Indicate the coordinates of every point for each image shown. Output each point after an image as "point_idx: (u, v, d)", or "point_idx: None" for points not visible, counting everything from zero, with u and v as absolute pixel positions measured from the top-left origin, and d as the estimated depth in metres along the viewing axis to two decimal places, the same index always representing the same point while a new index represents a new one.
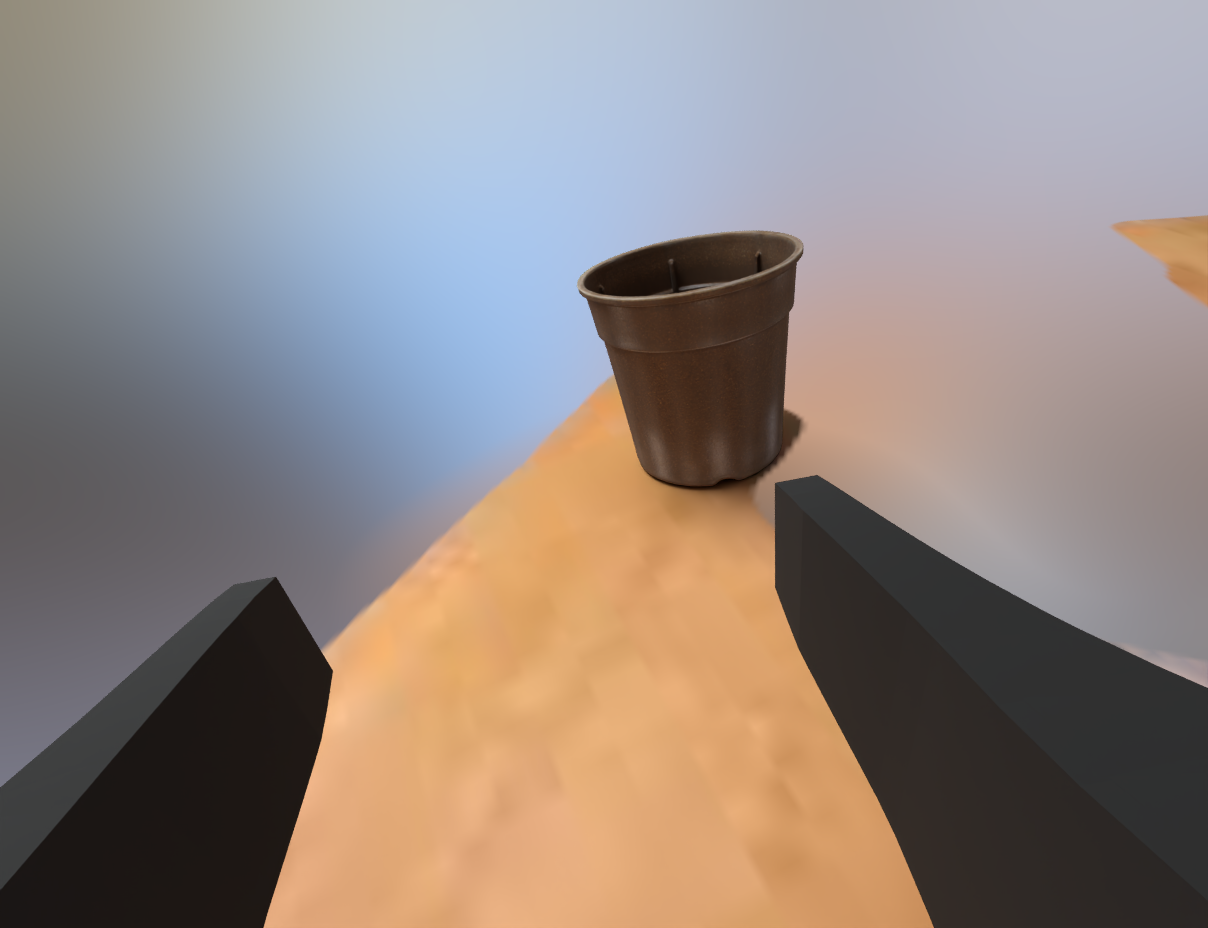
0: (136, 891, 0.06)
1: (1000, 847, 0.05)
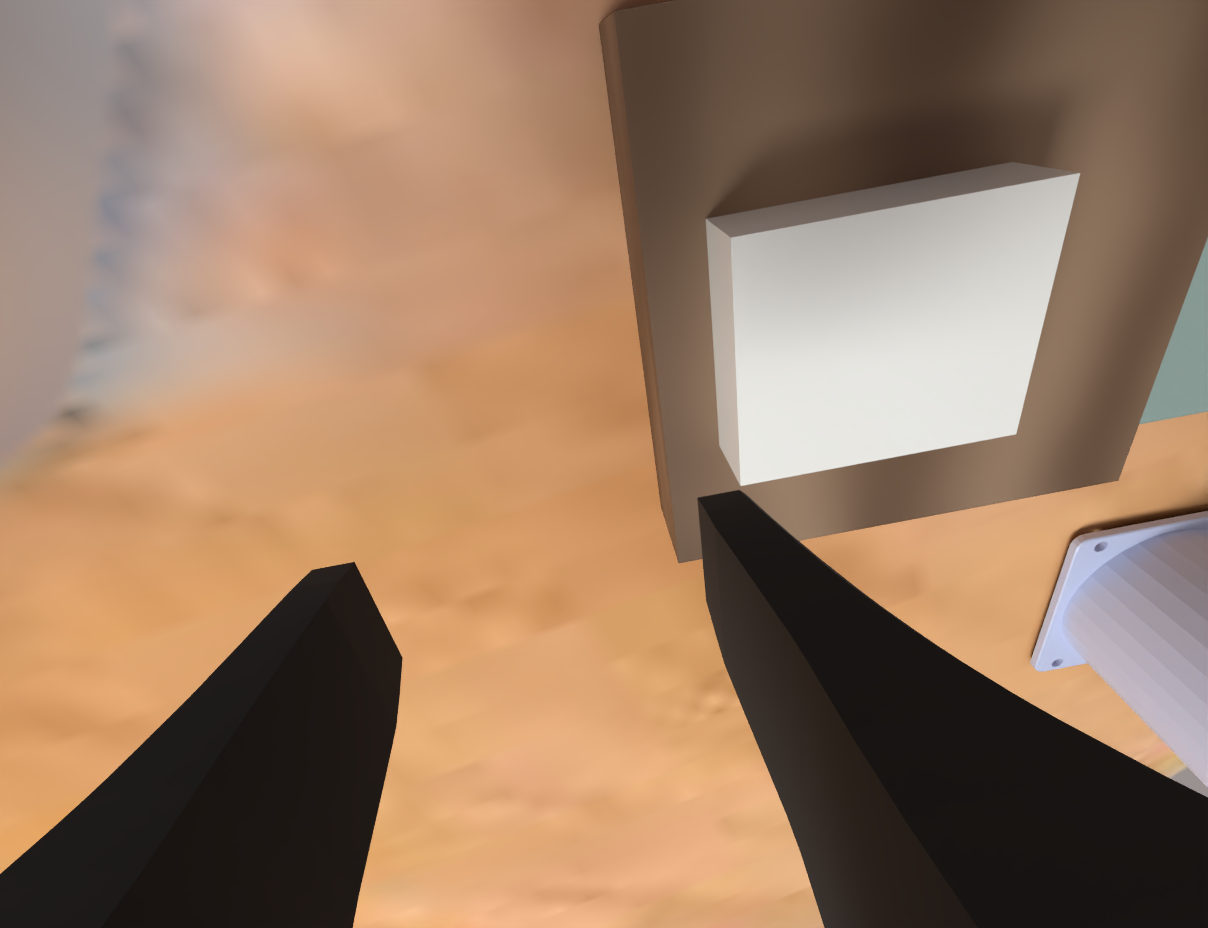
0: (255, 868, 0.06)
1: (863, 874, 0.05)
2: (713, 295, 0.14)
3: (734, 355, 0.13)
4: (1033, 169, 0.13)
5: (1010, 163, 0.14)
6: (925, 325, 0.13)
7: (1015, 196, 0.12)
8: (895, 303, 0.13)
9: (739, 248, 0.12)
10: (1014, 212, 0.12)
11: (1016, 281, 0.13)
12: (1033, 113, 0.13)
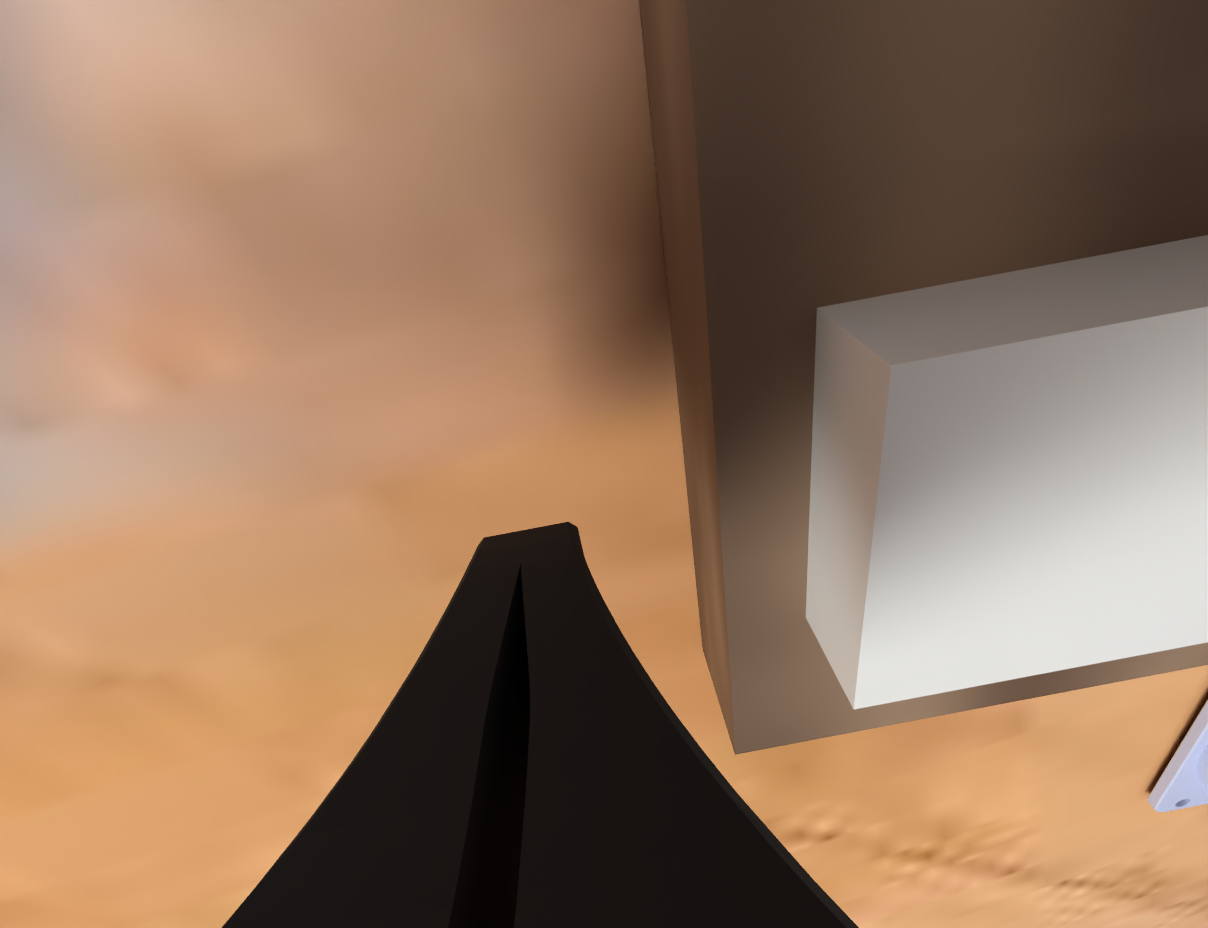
0: (514, 819, 0.06)
1: None
2: (821, 425, 0.09)
3: (870, 542, 0.08)
4: None
5: None
6: (1189, 490, 0.08)
7: None
8: (1150, 459, 0.08)
9: (904, 382, 0.07)
10: None
11: None
12: None
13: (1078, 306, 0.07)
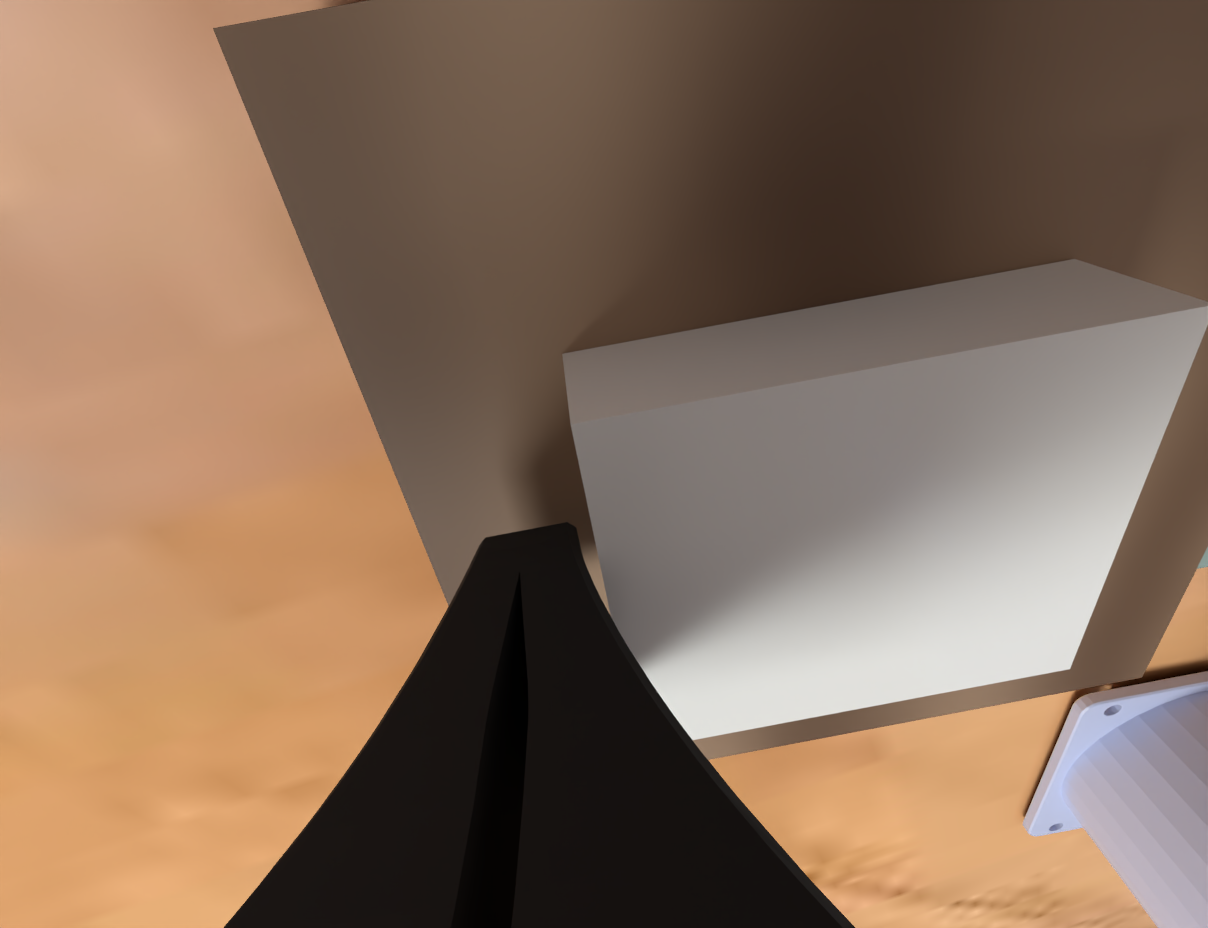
0: (515, 819, 0.06)
1: None
2: None
3: None
4: (1118, 283, 0.07)
5: (1072, 262, 0.08)
6: (930, 539, 0.08)
7: (1094, 344, 0.07)
8: (877, 511, 0.08)
9: (589, 440, 0.07)
10: (1091, 370, 0.07)
11: (1086, 472, 0.08)
12: (1017, 201, 0.08)
13: (782, 360, 0.07)
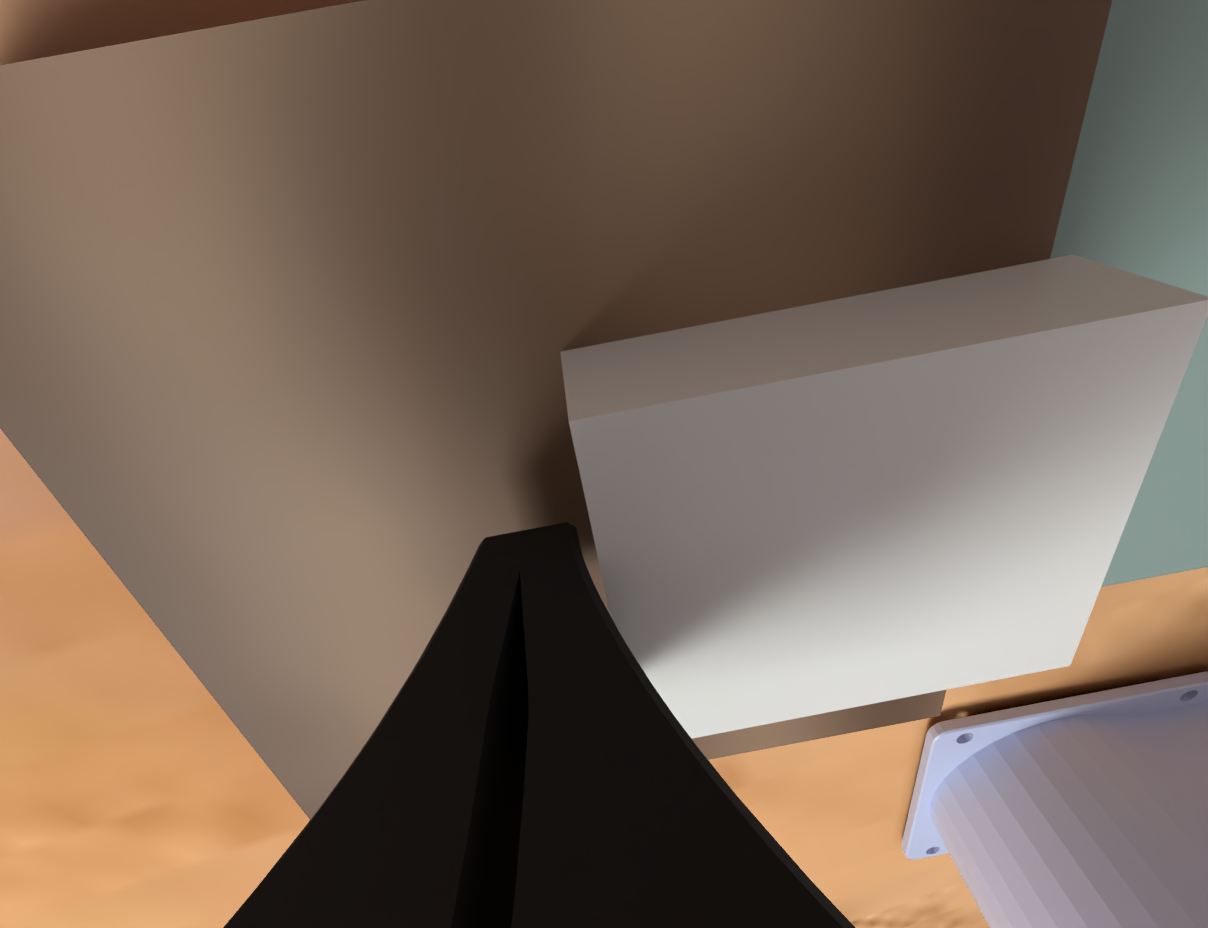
0: (515, 819, 0.06)
1: None
2: None
3: (605, 590, 0.08)
4: (1116, 278, 0.07)
5: (1070, 258, 0.08)
6: (929, 535, 0.08)
7: (1093, 339, 0.07)
8: (876, 507, 0.08)
9: (587, 437, 0.07)
10: (1089, 365, 0.07)
11: (1085, 468, 0.08)
12: (661, 266, 0.08)
13: (780, 356, 0.07)
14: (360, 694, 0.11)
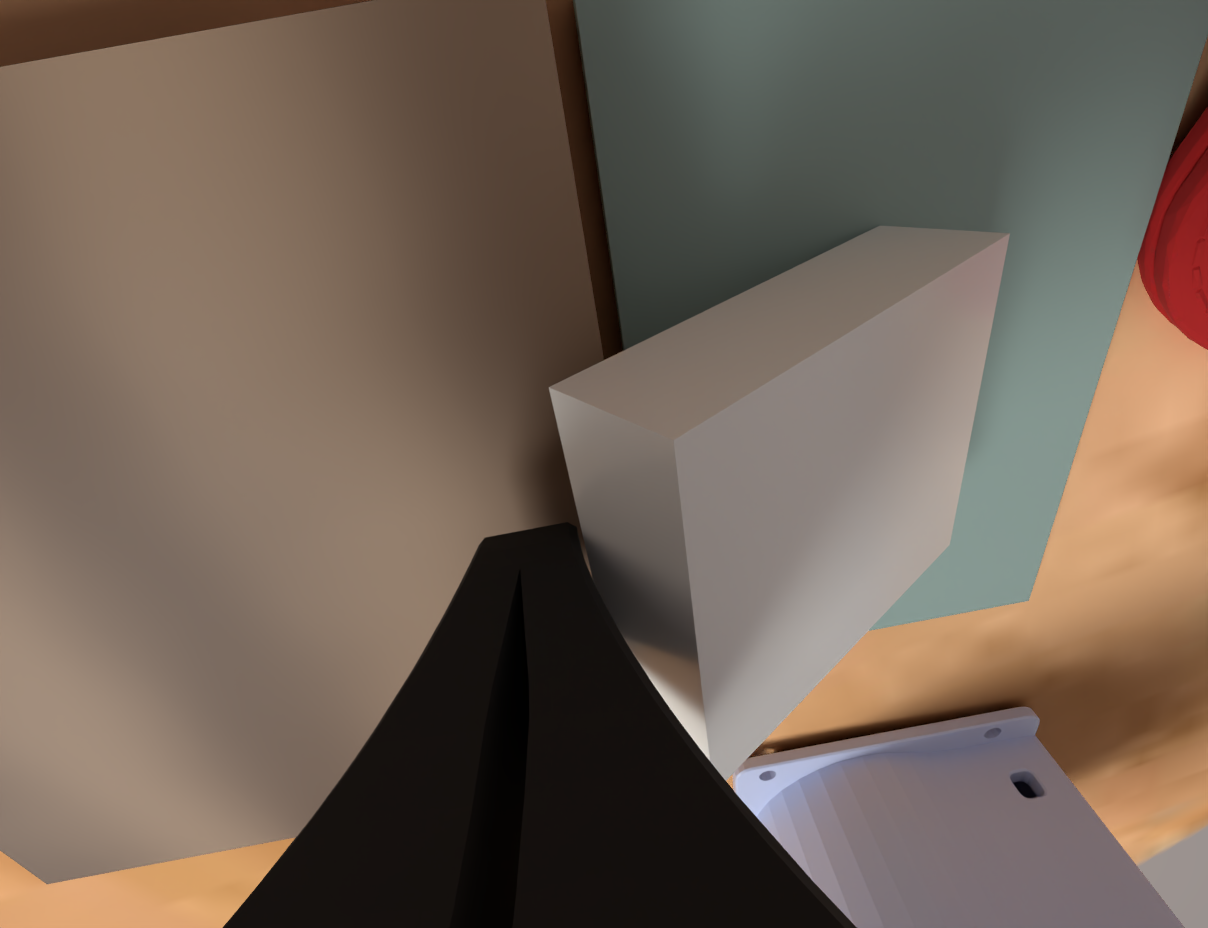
0: (514, 819, 0.06)
1: None
2: (590, 512, 0.08)
3: (692, 627, 0.07)
4: (932, 233, 0.09)
5: (882, 227, 0.10)
6: (892, 466, 0.09)
7: (965, 274, 0.08)
8: (868, 452, 0.08)
9: (688, 454, 0.06)
10: (964, 295, 0.09)
11: (960, 379, 0.10)
12: (181, 354, 0.08)
13: (787, 333, 0.07)
14: (32, 755, 0.11)
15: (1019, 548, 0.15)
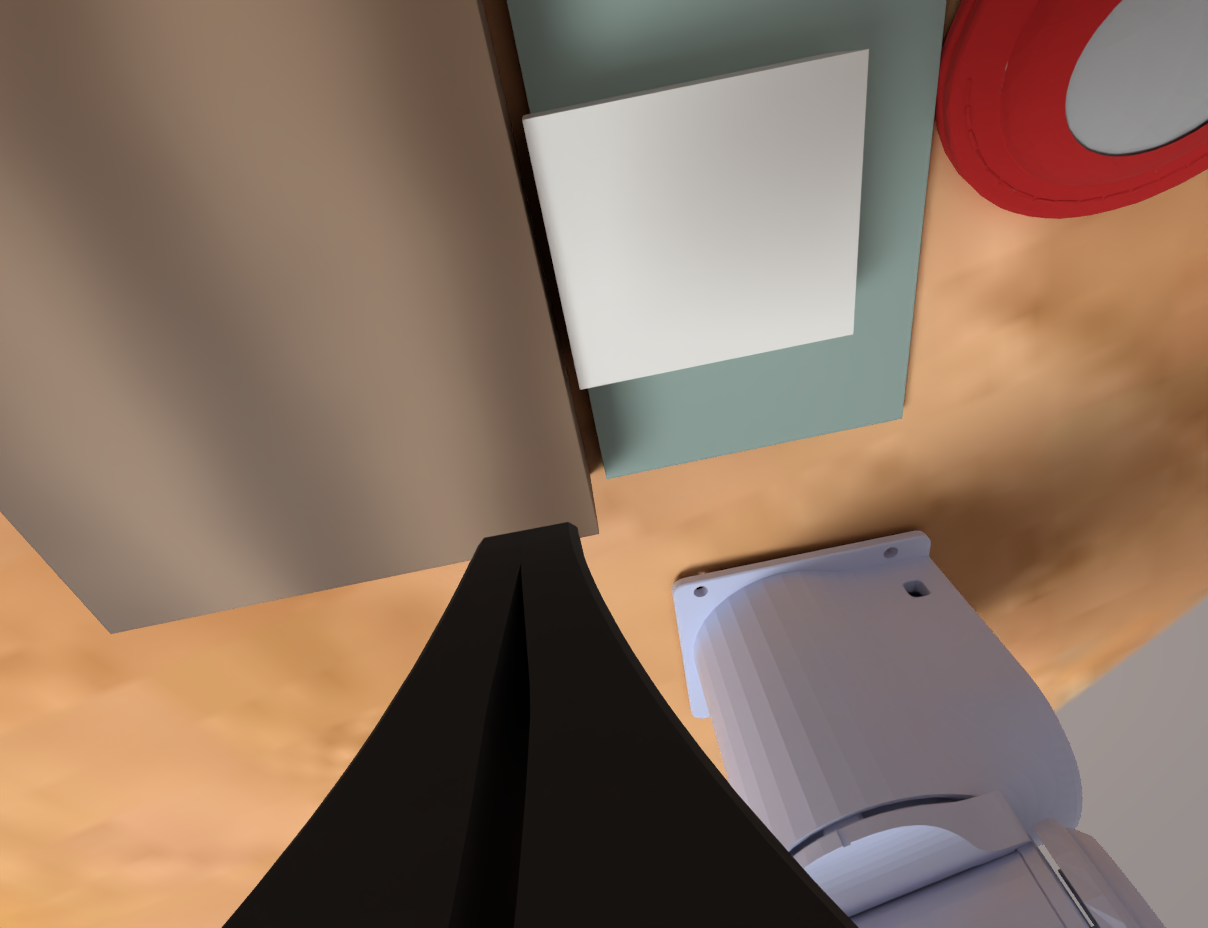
0: (513, 819, 0.06)
1: None
2: None
3: (550, 248, 0.13)
4: (836, 53, 0.13)
5: None
6: (739, 215, 0.13)
7: (806, 74, 0.12)
8: (703, 191, 0.13)
9: (533, 131, 0.12)
10: (808, 92, 0.12)
11: (824, 167, 0.13)
12: (215, 137, 0.11)
13: (641, 94, 0.13)
14: (104, 498, 0.15)
15: (885, 366, 0.18)
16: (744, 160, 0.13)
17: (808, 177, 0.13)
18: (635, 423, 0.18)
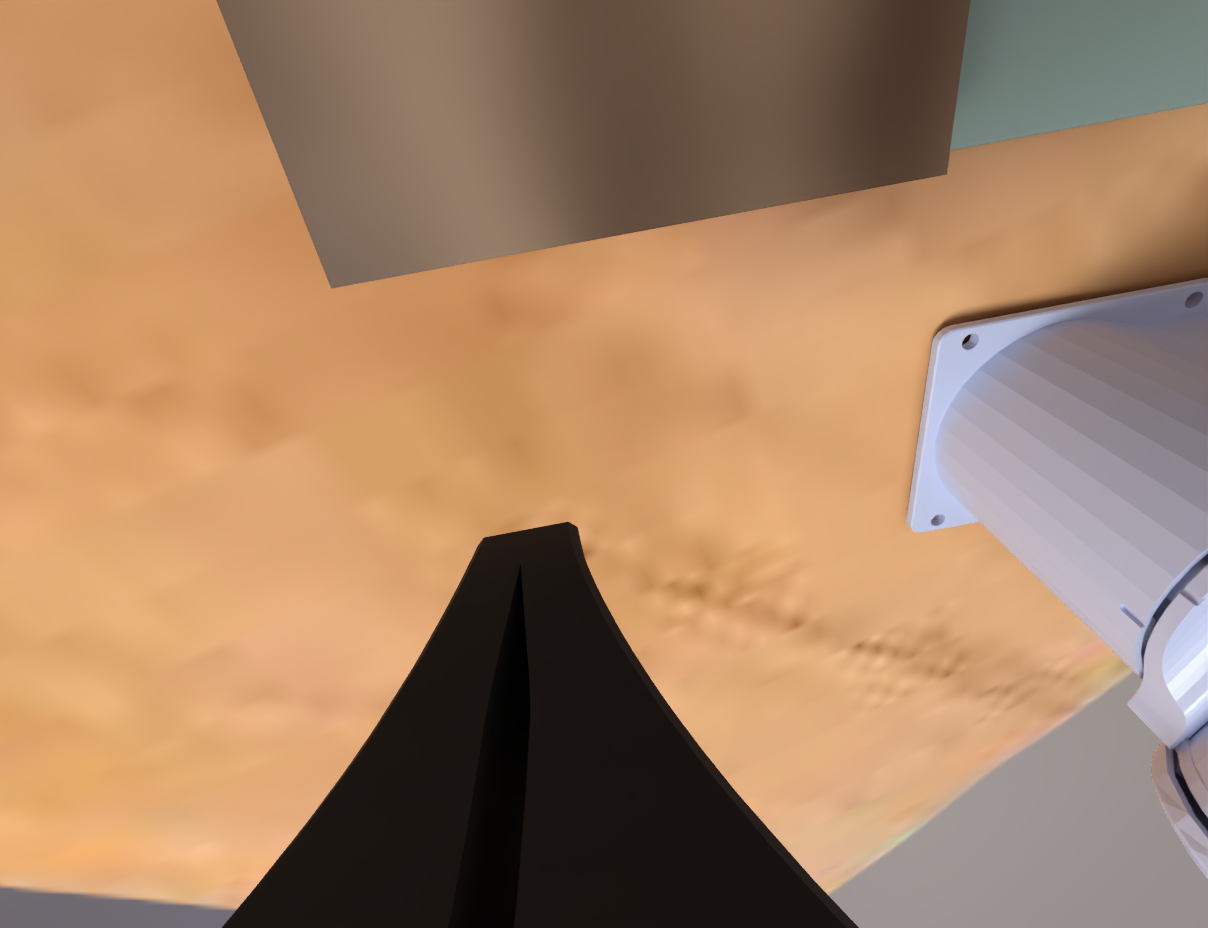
0: (514, 819, 0.06)
1: None
2: None
3: None
4: None
5: None
6: None
7: None
8: None
9: None
10: None
11: None
12: None
13: None
14: (371, 44, 0.11)
15: None
16: None
17: None
18: (963, 70, 0.15)
